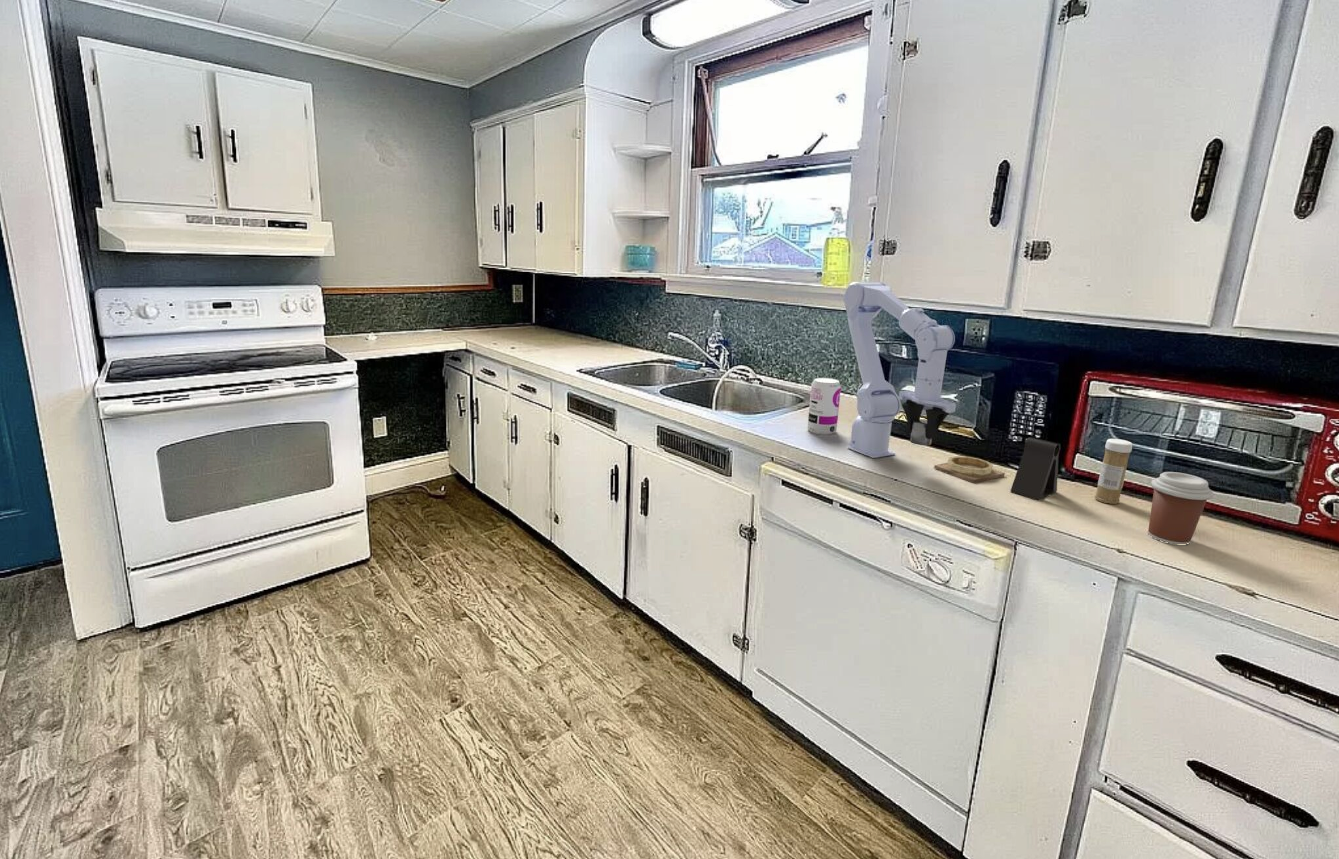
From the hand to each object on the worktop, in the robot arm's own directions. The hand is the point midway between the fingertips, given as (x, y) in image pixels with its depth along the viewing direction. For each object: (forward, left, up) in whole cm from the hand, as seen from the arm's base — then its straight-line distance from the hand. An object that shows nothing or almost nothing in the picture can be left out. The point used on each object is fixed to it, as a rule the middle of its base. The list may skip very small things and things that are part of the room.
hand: (921, 435), depth 151 cm
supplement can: (-36, +2, -9) cm, 37 cm away
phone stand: (+21, +13, -9) cm, 26 cm away
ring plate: (+6, +11, -9) cm, 15 cm away
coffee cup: (+47, +14, -9) cm, 50 cm away
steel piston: (0, 0, -2) cm, 2 cm away
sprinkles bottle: (+31, +23, -9) cm, 40 cm away
